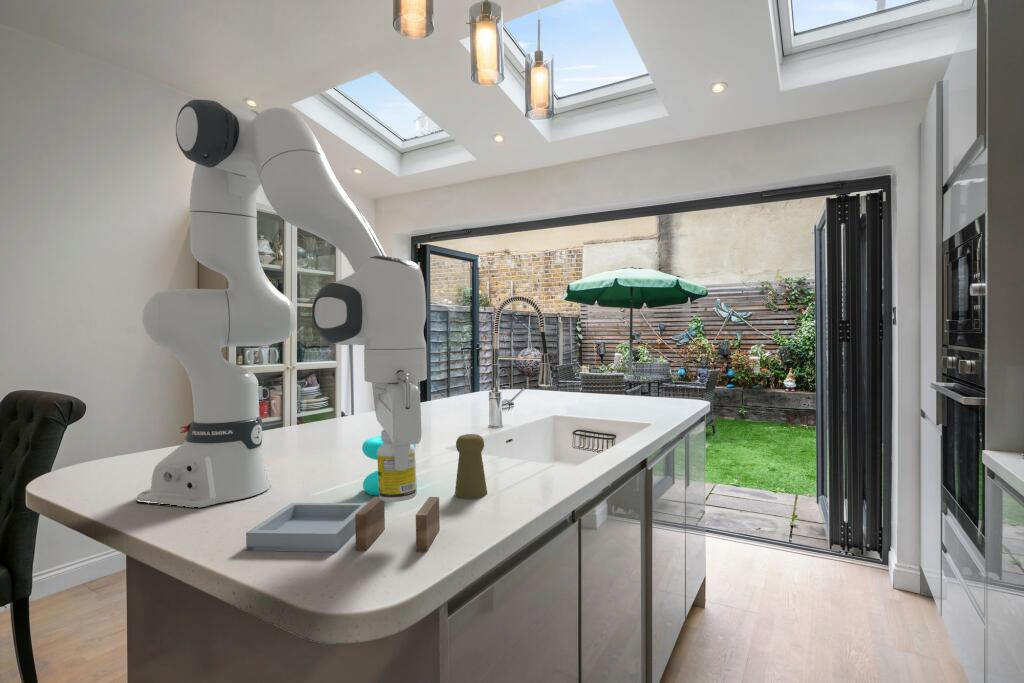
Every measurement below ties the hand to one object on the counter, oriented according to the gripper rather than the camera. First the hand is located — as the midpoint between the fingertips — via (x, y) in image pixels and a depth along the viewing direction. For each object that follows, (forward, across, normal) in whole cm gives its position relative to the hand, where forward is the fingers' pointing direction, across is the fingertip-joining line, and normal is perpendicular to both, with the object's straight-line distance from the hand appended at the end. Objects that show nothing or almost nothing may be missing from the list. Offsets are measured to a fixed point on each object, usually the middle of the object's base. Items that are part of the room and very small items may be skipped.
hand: (397, 463), depth 77 cm
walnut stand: (+11, -1, 0) cm, 11 cm away
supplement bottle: (+5, 0, 0) cm, 5 cm away
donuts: (+12, +25, -2) cm, 28 cm away
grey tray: (+11, +7, +12) cm, 18 cm away
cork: (+11, +16, -16) cm, 25 cm away
